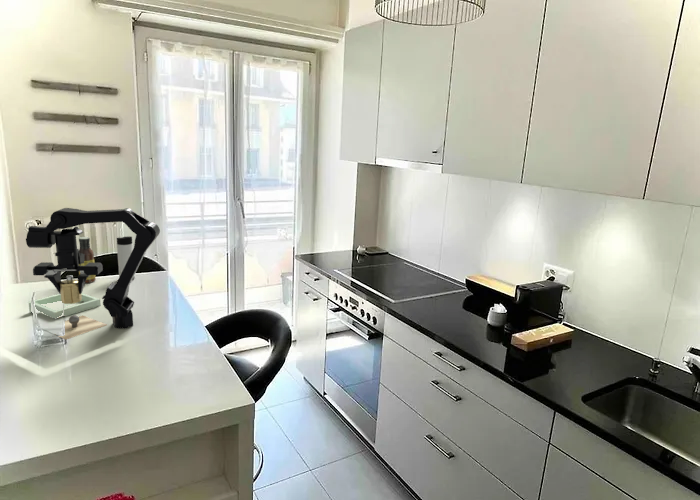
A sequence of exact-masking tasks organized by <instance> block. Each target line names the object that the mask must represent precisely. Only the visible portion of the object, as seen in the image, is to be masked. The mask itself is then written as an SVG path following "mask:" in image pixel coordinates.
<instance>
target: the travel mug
mask: <svg viewBox="0 0 700 500" xmlns="http://www.w3.org/2000/svg"><path fill="white" fill-rule="evenodd" d="M133 249H134V244H133V236H129V235H128V236H123V237H116V250H117V265H118V278H119V277H120V275H121V273H122V271H123V269H124V267H125V265H126V263H127V261H128V259H129V257H130V255H131V253H132V251H133ZM135 279H136V278H135V275H134V277H133V279H132V281H134V280H135Z"/></svg>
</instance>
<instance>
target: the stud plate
mask: <svg viewBox="0 0 700 500" xmlns="http://www.w3.org/2000/svg"><path fill="white" fill-rule="evenodd" d="M64 321H65V335H64V336H57V337H59V338H60V339H63V340H65V341H66V340H69V339H71V338H74V337H77V336H80V335H84V334H86V333H89V332H92V331H94V330H98V329H101V328H103V327H106V326H108V324H106V323H104V322H101V321H98V320H95V319H94V318H91V317H89V316H86V315H80V316H79V315H76V314H72V315H70V316H69V318H68V319H67V320H64Z"/></svg>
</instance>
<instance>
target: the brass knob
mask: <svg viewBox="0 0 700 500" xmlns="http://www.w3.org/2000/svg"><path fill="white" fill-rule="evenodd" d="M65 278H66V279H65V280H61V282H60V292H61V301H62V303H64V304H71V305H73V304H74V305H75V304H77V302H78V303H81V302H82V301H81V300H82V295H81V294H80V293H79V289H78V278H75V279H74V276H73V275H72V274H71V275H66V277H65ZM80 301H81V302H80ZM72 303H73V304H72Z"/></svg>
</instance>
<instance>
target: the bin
mask: <svg viewBox="0 0 700 500" xmlns="http://www.w3.org/2000/svg"><path fill="white" fill-rule="evenodd" d="M81 295H82V300H81V301H80V302H77V303H78V304H77V303H76V304H74V305H73V303H72V304H65V306H64V308H59V309H54V310H53V309H51V308H48V307H46V306H43V305H41V304H47V303H53V302H57V301H61V294H60V293H59V294H54V295H50V296H46V297H43V298H39V299H35V300H33V301H35V307H36V309H37V310H38V311H40V312H43V313H44V314H46V315H48V316H51V317H53V318H57V317H59V316H61V315H62V313H63V309H64V315H65V317H69V316H73V315H76V314H78V313H80V312H84V311H87V310H90V309H95V308H97V307H98V308H99V307H100V306H101V299H100V298H98V297H96V296H91V295H89V294H86V293H83V292H82V293H81ZM81 302H82V303H81ZM27 303H28V309H29V313H30V314H32V313H31V301H28V302H27ZM67 306H68V307H67ZM46 315H45V316H46ZM48 316H47V317H48ZM51 317H50V318H51ZM53 318H52V319H53Z"/></svg>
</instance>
